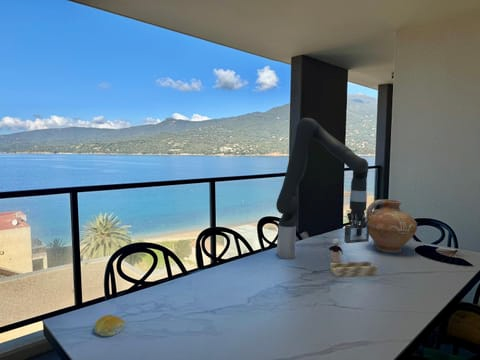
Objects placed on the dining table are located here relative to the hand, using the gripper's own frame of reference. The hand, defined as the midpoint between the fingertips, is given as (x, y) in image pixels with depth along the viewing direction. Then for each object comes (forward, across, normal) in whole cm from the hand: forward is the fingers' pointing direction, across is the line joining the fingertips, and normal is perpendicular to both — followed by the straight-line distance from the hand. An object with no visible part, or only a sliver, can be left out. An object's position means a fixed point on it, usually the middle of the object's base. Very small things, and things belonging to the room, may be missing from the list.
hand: (356, 235), depth 154 cm
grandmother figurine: (+17, -11, -4) cm, 21 cm away
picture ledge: (+17, +3, -4) cm, 18 cm away
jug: (+17, -22, +39) cm, 48 cm away
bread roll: (+18, +23, -109) cm, 113 cm away
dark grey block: (+3, 0, 0) cm, 3 cm away
